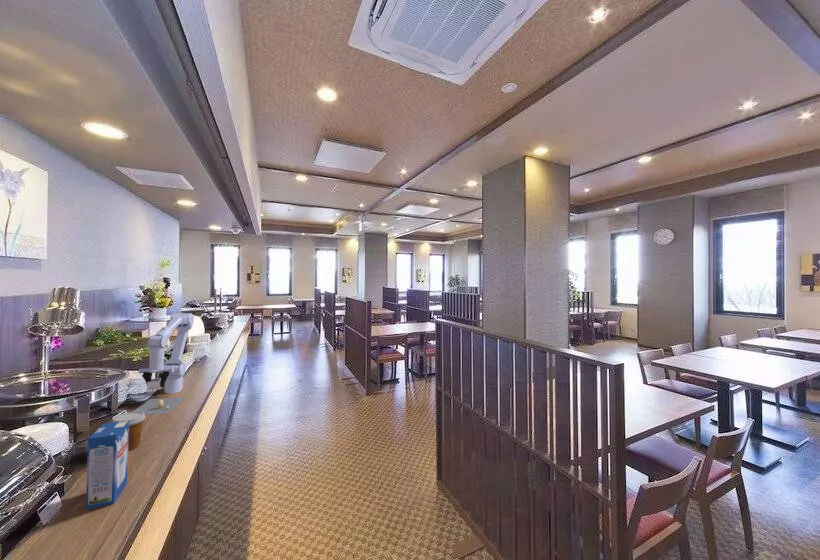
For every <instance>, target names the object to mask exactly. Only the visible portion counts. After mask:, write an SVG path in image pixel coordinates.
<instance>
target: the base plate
mask: <svg viewBox="0 0 820 560" xmlns="http://www.w3.org/2000/svg"><path fill="white" fill-rule="evenodd" d="M185 399H186V396H185V397H169V398H167V397H166V398H165V397H164V398H162V397H161V398H149V399H148V400H147V401H145V402H144V403H143V404H141V405H140V406H138V407H137V408H136V409H135V410H134V411H132V412H137V411H138V412H143V413H144V415H157V414H158V415H159V414H169V413H170V412H172V410H174V409H175V408H176V407H178V405H179V404H180V403H181V402H182V401H183V400H185Z"/></svg>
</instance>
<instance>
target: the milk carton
mask: <svg viewBox="0 0 820 560" xmlns="http://www.w3.org/2000/svg"><path fill="white" fill-rule="evenodd" d="M128 440H129V421H123V422H114V423H112V422H106V423H103V424H101V426H99V427H98V429H96V430H95V431H94V432H93V433H92V434H91V435H90V436H89V437H88V438H87V457H86V458H87V461H86V463H87V464H86V465H87V467H86V492H85V493H86V495H85V509H86V510H89V509H93V508H100V507H105V506H109V504H111V505H114V504H115V503H116V502H115V501H117V500H118V499H119V497H120V496H119V495H121V494H122V493H123V491H124V489H125V488H126V487H127V485H128V468H129V467H128V466H129V465H128V464H129V463H128V462H129V451H128ZM117 498H118V499H117ZM113 503H114V504H113Z"/></svg>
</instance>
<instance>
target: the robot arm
mask: <svg viewBox="0 0 820 560" xmlns="http://www.w3.org/2000/svg"><path fill="white" fill-rule="evenodd" d="M194 318H195V317H194V315H193V313H190V312H189V313H184V312H183V313H181V312H180V313H179V312H178V313H176V312H174V313H172V314H171V315H170V319H169V322H168V323H167V325H166V326H162V327H161V329H160V330H158V332H157V333H156V334H154V335H152V336H150V337H149V338H148V339H147V343H146V346H147V347H148V352H149V366H148V367H147V368H139V369H138V372H137V374H141V377H142V378H143V380H144V382H145V384H146V385H147V382H148V381H150V380H151V379H153V378H152V377H153V374H155V373H160V376H159V377H160V378H161V387H162V388H164V393H165V394H168V395H169V394H170V395H171V394H176V393H179V392H181V390H182V389H184V377H183V376H184V375H185V373H186V366H187V365H186V364H187V363H186V362H185V361H184V360H183V353H184V351H185V346H186V342H187V339H188V335H189V330H192V328H193V325H194V321H195V319H194ZM174 330H177V333H176V337H175V341H174V345H173V349H172V353H171V356H170V358H169V359H167V360H166V361H165V347H166V346H167V344H168V342H169V339H170V337H172V335H173V334H174Z"/></svg>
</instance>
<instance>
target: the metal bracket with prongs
mask: <svg viewBox="0 0 820 560" xmlns="http://www.w3.org/2000/svg"><path fill="white" fill-rule="evenodd" d="M146 388H147V389H145V392H146V393H150V392H151V391H152V393H155V392H157V390H158V391H159V390H161V389H163V387H161V377H159V378H151V380H150V381H148V382H147V384H146Z"/></svg>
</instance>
